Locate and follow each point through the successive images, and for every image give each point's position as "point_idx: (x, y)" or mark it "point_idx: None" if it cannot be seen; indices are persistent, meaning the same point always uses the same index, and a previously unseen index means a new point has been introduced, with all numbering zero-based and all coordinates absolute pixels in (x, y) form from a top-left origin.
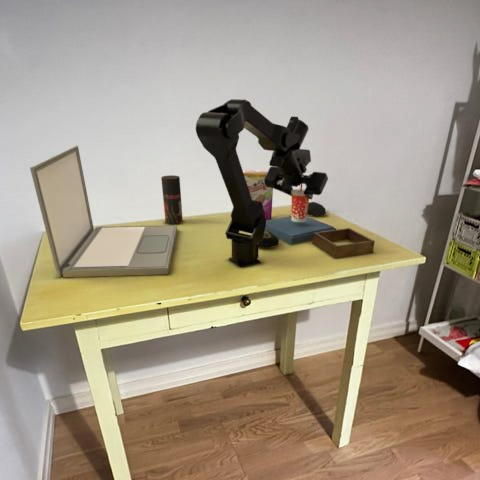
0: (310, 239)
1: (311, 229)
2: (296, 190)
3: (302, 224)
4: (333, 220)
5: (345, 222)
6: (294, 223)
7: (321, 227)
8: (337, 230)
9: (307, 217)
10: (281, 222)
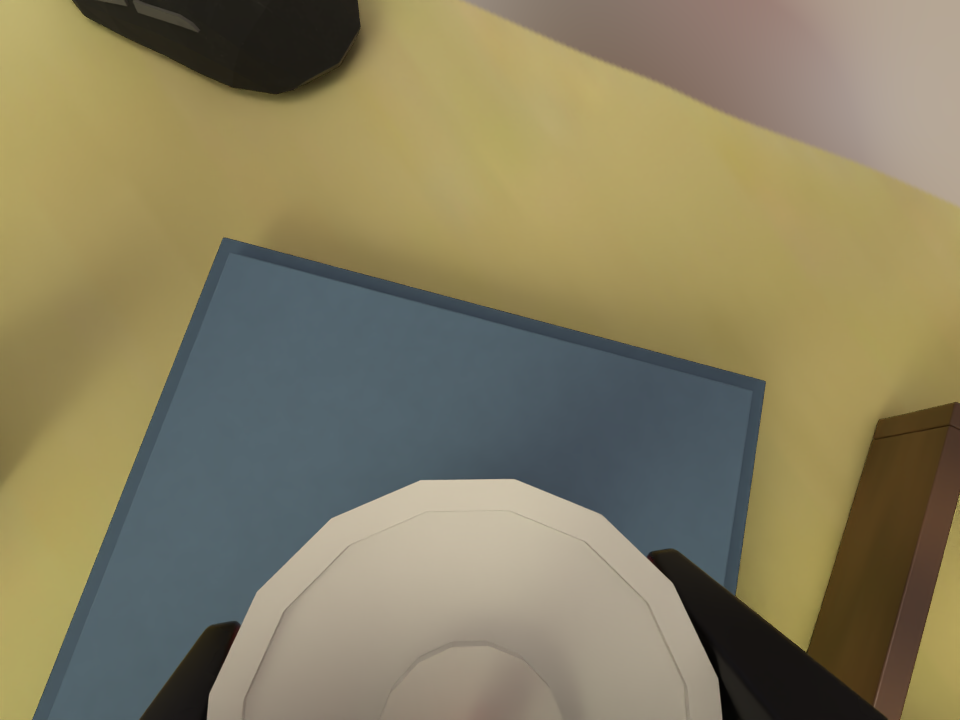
0: None
1: None
2: (301, 708)
3: None
4: (479, 70)
5: (586, 55)
6: None
7: (684, 502)
8: (939, 564)
9: (364, 309)
10: None
